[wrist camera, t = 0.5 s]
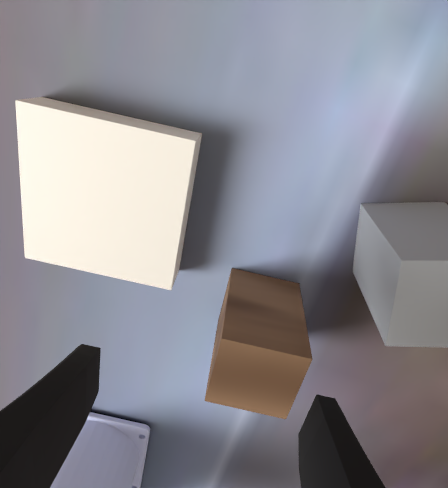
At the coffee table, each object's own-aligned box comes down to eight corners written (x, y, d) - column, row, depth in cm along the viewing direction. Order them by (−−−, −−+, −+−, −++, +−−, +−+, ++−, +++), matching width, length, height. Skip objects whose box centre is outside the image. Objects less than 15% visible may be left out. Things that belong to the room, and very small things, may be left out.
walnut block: (280, 335, 22) (285, 419, 17) (218, 321, 22) (204, 401, 17) (299, 283, 21) (312, 359, 15) (231, 267, 21) (221, 338, 15)
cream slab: (180, 267, 21) (171, 290, 19) (49, 237, 21) (24, 257, 19) (203, 131, 18) (195, 141, 16) (46, 96, 18) (15, 100, 15)
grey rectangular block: (427, 271, 19) (490, 348, 14) (352, 270, 20) (385, 346, 15) (443, 201, 18) (522, 260, 12) (360, 203, 18) (401, 260, 13)
